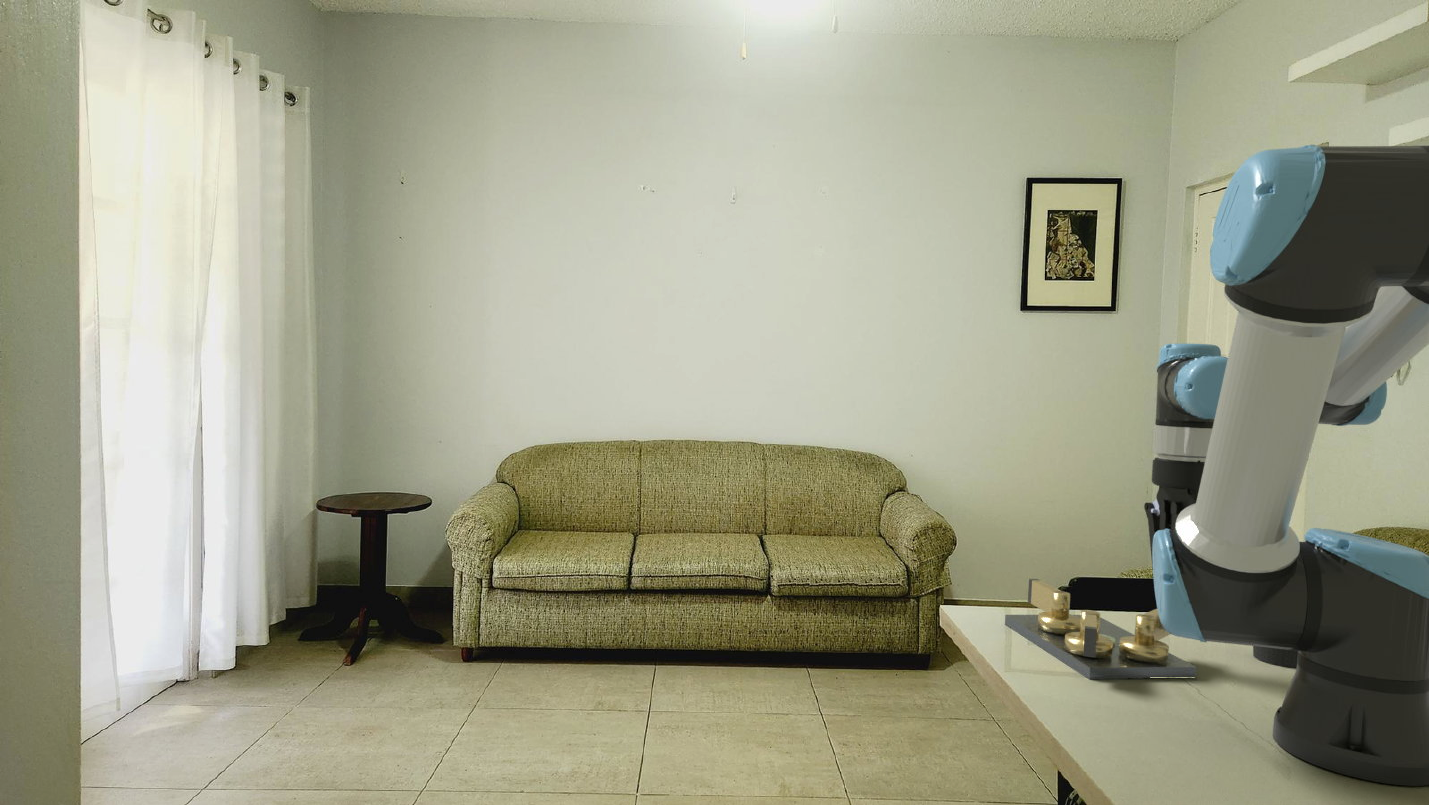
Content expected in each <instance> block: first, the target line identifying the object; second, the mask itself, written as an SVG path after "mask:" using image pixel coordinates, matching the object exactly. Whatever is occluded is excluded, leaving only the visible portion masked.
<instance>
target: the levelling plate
mask: <svg viewBox="0 0 1429 805" xmlns="http://www.w3.org/2000/svg"><path fill="white" fill-rule="evenodd" d="M1073 615H1074V616H1077V617H1079V618H1081V614H1073ZM1004 616H1005V617H1004V625H1005V626H1007V627H1008V628H1010V627H1011V628H1012V630H1013V631H1014V630H1015V633H1017V632H1018V633H1017V634H1019V635H1021V636H1022V637H1024V638H1025V639H1027V640H1028V641H1030V642H1032V643H1033V644H1034V645H1036V646H1037V647H1039V648H1041V649H1042V650H1044V651H1045V652H1047V653H1048V654H1050V655H1052V656H1053V657H1055V658H1056V659H1058V661H1061V662H1062V663H1064V664H1065V665H1067V666H1068V667H1070V668H1071V669H1072V670H1074V671H1076V672H1078V673H1080V674H1081V675H1082V676H1084V677H1085V678H1087V679H1088V680H1132V679H1131V678H1150V677H1196V678H1197V669H1198V667H1197V666H1196V665H1193V664H1192V663H1190V662H1187V661H1186V660H1184V659H1182V658H1179V657H1178V656H1176V655H1175V654H1172V653H1171V652H1169V653H1168V660H1167V661H1165V662H1145V661H1139V660H1135V659H1131V658H1128V657H1126V656H1123V655H1122V654H1120V653H1119V643H1120V638H1122V637H1128V636H1135V633H1132V632H1129V631H1128V630H1125V629H1124V628H1122V627H1120V626H1118V625H1116V624H1114V623H1112V622H1110V621H1108V620H1107V619H1104V618H1102V617H1101V616H1100V624H1099V635H1101V636H1104V637H1107V638H1109V639H1111V640H1112V641H1113V649H1112V655H1111V656H1110V657H1104V658H1094V657H1087V656H1082V655H1078V654H1074V653H1072V652H1069V651H1068V650H1066V649H1065V647H1064V646H1065V635H1066V634H1058V633H1052V632H1048V631H1045V630H1042V629H1040V628H1039V627H1038V614H1005V615H1004ZM1011 628H1010V629H1011ZM1128 678H1130V679H1128Z"/></svg>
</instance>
